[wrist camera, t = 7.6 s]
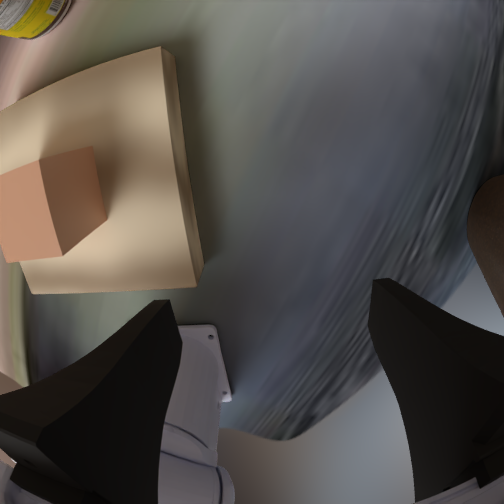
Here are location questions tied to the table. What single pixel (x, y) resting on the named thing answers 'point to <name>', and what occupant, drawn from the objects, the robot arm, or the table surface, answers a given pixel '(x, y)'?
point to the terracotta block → (50, 205)
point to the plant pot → (489, 234)
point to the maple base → (115, 174)
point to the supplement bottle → (31, 17)
